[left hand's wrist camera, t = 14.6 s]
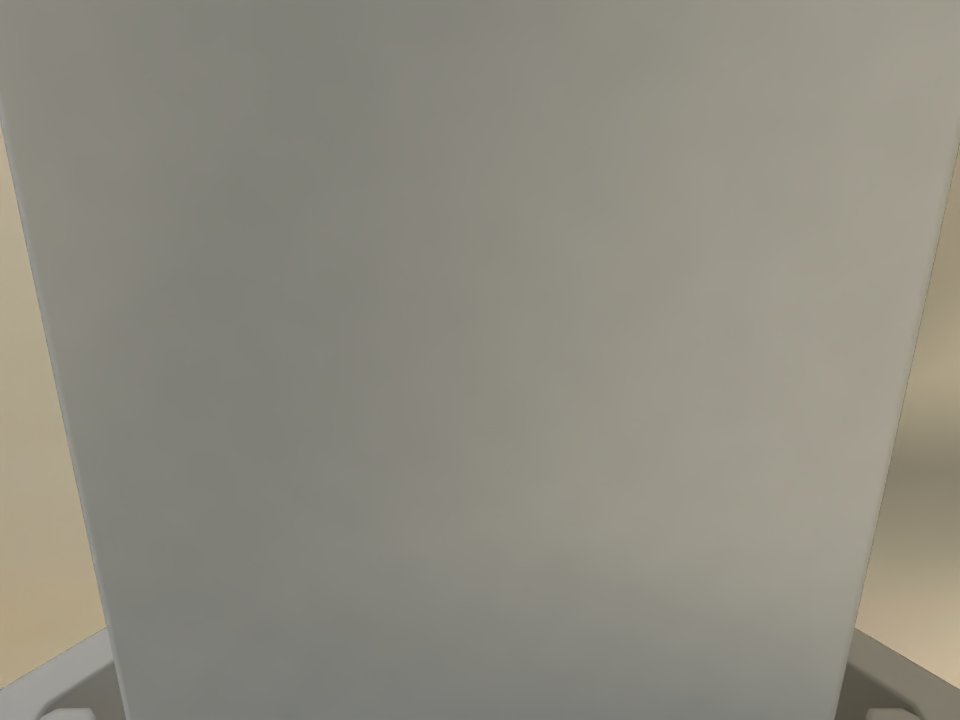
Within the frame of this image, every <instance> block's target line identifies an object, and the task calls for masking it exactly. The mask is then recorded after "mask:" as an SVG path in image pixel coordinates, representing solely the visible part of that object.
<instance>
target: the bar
mask: <svg viewBox="0 0 960 720" xmlns="http://www.w3.org/2000/svg"><path fill="white" fill-rule="evenodd" d="M0 122H1V127H2V132H3V137H4V141H5V146H6V151H7V156H8V160H9V165H10V170H11V175H12V179H13V184H14V189H15V194H16V198H17V203H18V208H19V213H20V217H21V222H22V227H23V232H24V236H25V241H26V246H27V251H28V255H29V260H30V265H31V270H32V274H33V279H34V284H35V289H36V293H37V298H38V303H39V308H40V312H41V317H42V322H43V327H44V331H45V336H46V341H47V346H48V350H49V355H50V360H51V364H52V369H53V374H54V379H55V383H56V388H57V393H58V398H59V402H60V407H61V412H62V417H63V421H64V426H65V431H66V436H67V440H68V445H69V450H70V455H71V459H72V464H73V469H74V474H75V478H76V483H77V488H78V493H79V497H80V502H81V507H82V512H83V516H84V521H85V526H86V531H87V535H88V540H89V545H90V550H91V554H92V559H93V564H94V569H95V573H96V578H97V583H98V588H99V592H100V597H101V602H102V607H103V611H104V616H105V621H106V626H107V630H108V635H109V640H110V645H111V649H112V654H113V659H114V664H115V668H116V673H117V678H118V683H119V687H120V692H121V697H122V702H123V706H124V711H125V716H126V720H834V719H835V715H836V710H837V705H838V701H839V696H840V692H841V687H842V682H843V678H844V673H845V669H846V664H847V659H848V655H849V650H850V646H851V641H852V636H853V632H854V627H855V623H856V618H857V613H858V609H859V604H860V600H861V595H862V590H863V586H864V581H865V577H866V572H867V567H868V563H869V558H870V554H871V549H872V545H873V540H874V535H875V531H876V526H877V522H878V517H879V512H880V508H881V503H882V499H883V494H884V489H885V485H886V480H887V476H888V471H889V466H890V462H891V457H892V453H893V448H894V443H895V439H896V434H897V430H898V425H899V420H900V416H901V411H902V407H903V402H904V397H905V393H906V388H907V384H908V379H909V374H910V370H911V365H912V361H913V356H914V351H915V347H916V342H917V338H918V333H919V328H920V324H921V319H922V315H923V310H924V305H925V301H926V296H927V292H928V287H929V282H930V278H931V273H932V269H933V264H934V259H935V255H936V250H937V246H938V241H939V236H940V232H941V227H942V223H943V218H944V213H945V209H946V204H947V200H948V195H949V190H950V186H951V181H952V177H953V172H954V168H955V163H956V158H957V154H958V149H959V145H960V0H0Z"/></svg>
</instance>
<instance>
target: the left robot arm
mask: <svg viewBox="0 0 960 720" xmlns="http://www.w3.org/2000/svg"><path fill="white" fill-rule="evenodd" d="M0 720H126V716H125V711H124V706H123V702H122V697H121V692H120V687H119V683H118V678H117V673H116V668H115V664H114V659H113V654H112V649H111V645H110V640H109V635H108V630H107V627H106V628H104V629H102V630H101V631H99V632H97V633H96V634H94V635H92V636H90V637H89V638H87V639H85V640H84V641H82V642H80V643H79V644H77V645H75V646H73V647H72V648H70V649H68V650H67V651H65V652H63V653H62V654H60V655H58V656H56V657H55V658H53V659H51V660H50V661H48V662H46V663H45V664H43V665H41V666H39V667H38V668H36V669H34V670H33V671H31V672H29V673H28V674H26V675H24V676H23V677H21V678H19V679H17V680H16V681H14V682H12V683H11V684H9V685H7V686H6V687H4V688H2V689H0ZM834 720H960V689H958V688H956V687H955V686H953V685H951V684H949V683H948V682H946V681H944V680H943V679H941V678H939V677H938V676H936V675H934V674H933V673H931V672H929V671H927V670H926V669H924V668H922V667H921V666H919V665H917V664H916V663H914V662H912V661H910V660H909V659H907V658H905V657H904V656H902V655H900V654H899V653H897V652H895V651H894V650H892V649H890V648H888V647H887V646H885V645H883V644H882V643H880V642H878V641H877V640H875V639H873V638H872V637H870V636H868V635H866V634H865V633H863V632H861V631H860V630H858V629H856V628H855V627H854V632H853V636H852V641H851V646H850V650H849V655H848V659H847V664H846V669H845V673H844V678H843V682H842V687H841V692H840V696H839V701H838V705H837V710H836V715H835V719H834Z"/></svg>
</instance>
